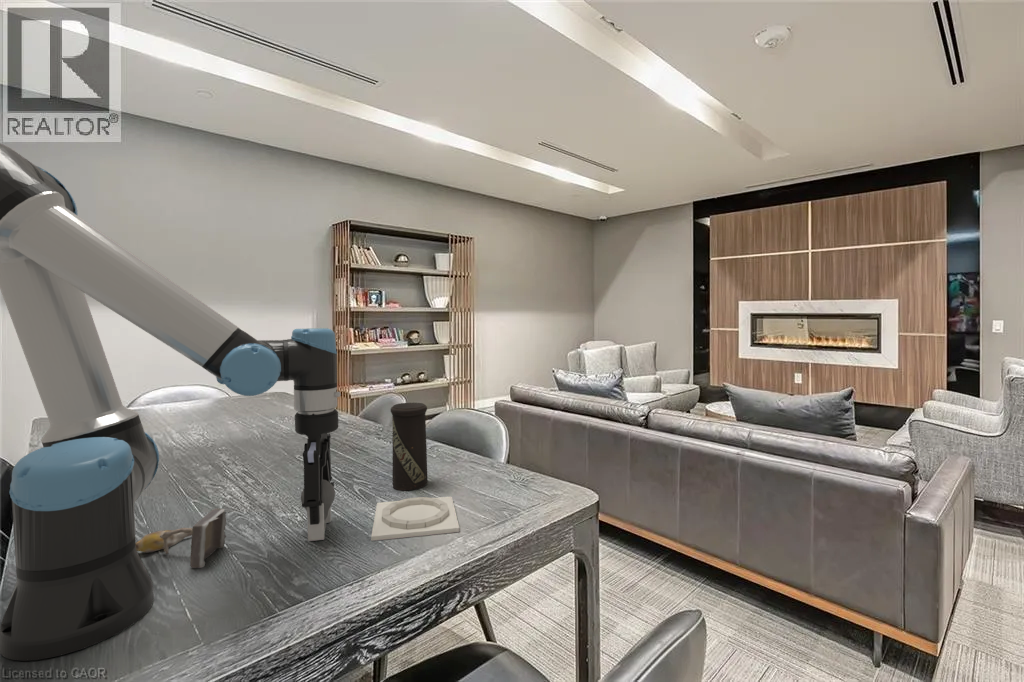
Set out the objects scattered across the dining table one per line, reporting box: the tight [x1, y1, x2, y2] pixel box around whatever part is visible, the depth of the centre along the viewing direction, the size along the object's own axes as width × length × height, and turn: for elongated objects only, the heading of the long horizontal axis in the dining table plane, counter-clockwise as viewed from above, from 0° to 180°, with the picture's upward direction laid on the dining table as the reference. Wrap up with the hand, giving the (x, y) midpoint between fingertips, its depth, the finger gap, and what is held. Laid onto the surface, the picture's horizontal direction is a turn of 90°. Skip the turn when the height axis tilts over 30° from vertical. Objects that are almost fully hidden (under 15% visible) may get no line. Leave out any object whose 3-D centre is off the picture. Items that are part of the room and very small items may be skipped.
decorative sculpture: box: [136, 508, 227, 569], centre depth 82 cm, size 16×10×7 cm, turn 74°
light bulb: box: [300, 479, 336, 531], centre depth 88 cm, size 6×6×10 cm
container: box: [390, 402, 428, 491], centre depth 113 cm, size 9×9×20 cm
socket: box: [370, 496, 460, 542], centre depth 94 cm, size 16×16×2 cm
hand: (320, 530), depth 89 cm, fingers open, 7 cm apart
